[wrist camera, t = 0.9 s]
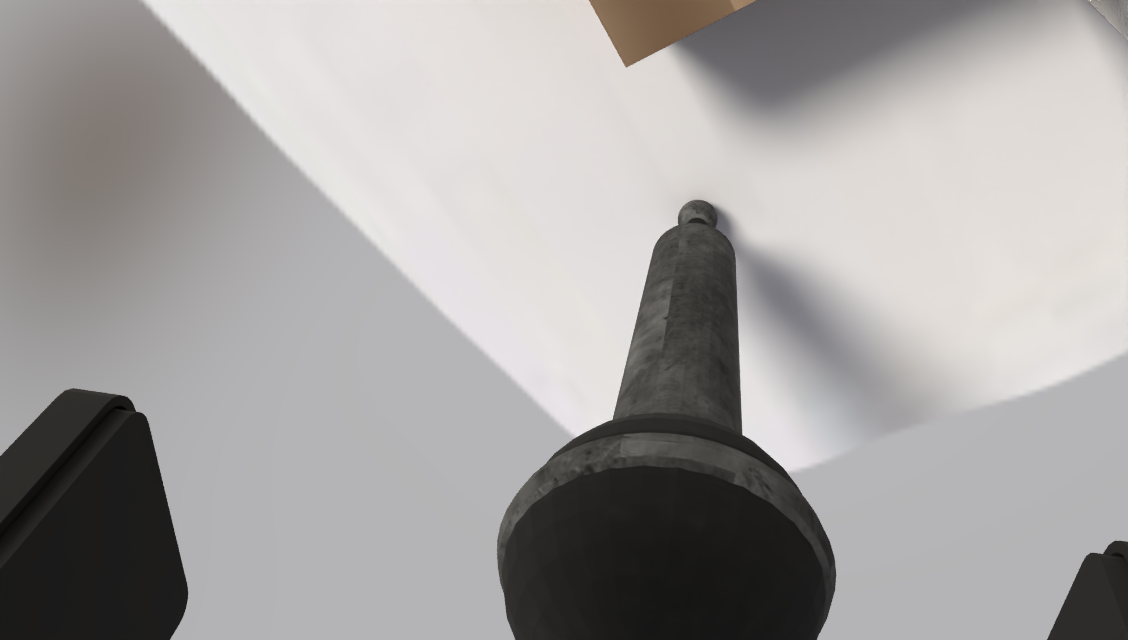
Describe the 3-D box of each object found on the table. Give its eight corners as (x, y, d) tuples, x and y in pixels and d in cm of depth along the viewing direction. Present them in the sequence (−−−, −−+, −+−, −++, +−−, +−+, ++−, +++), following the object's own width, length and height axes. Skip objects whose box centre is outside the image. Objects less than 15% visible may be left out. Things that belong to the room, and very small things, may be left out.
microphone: (746, 78, 32) (740, 519, 15) (835, 251, 35) (910, 785, 18) (561, 170, 35) (385, 631, 18) (656, 324, 37) (580, 849, 21)
